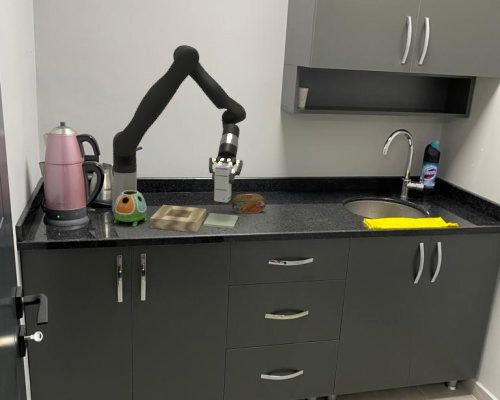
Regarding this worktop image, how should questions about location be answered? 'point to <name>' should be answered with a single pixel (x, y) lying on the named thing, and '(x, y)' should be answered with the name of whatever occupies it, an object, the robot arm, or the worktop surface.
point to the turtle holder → (130, 207)
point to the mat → (221, 220)
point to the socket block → (178, 218)
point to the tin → (248, 203)
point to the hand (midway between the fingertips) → (222, 182)
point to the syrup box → (222, 182)
